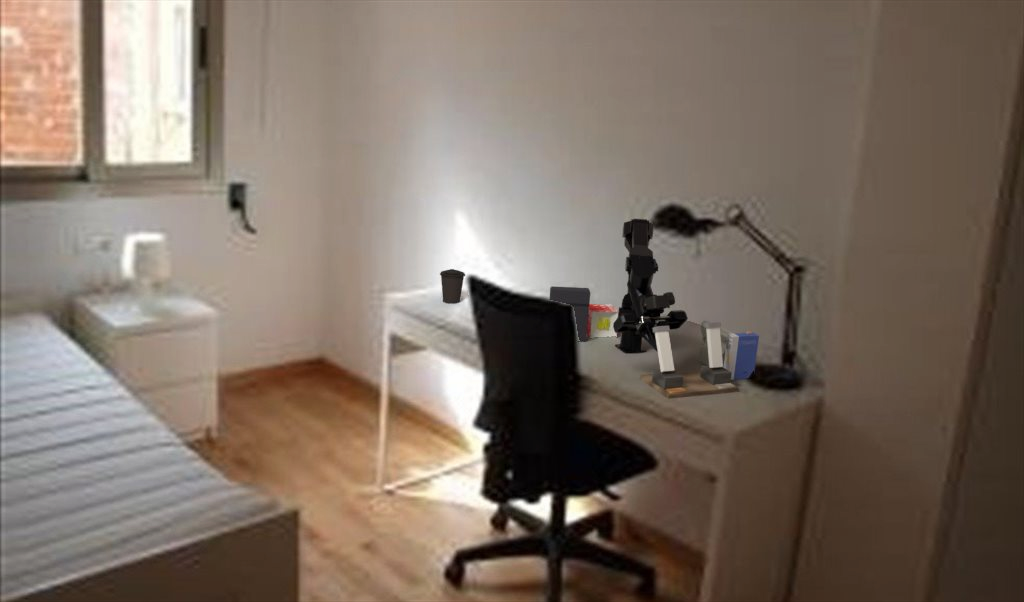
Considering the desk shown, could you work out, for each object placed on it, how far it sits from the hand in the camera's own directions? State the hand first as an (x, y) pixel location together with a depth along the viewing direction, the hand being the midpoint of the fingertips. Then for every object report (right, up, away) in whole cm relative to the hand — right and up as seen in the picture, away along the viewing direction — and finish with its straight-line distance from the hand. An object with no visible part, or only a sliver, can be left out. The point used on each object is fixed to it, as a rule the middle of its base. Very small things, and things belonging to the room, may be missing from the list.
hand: (659, 351), depth 237 cm
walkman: (+22, -7, +9) cm, 25 cm away
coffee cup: (-56, +12, +65) cm, 86 cm away
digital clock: (+19, -5, +18) cm, 27 cm away
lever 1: (+2, -5, -3) cm, 6 cm away
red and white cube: (-11, +3, +40) cm, 41 cm away
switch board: (+7, -9, +1) cm, 11 cm away
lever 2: (+15, -5, +2) cm, 15 cm away
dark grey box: (-21, +1, +33) cm, 39 cm away
